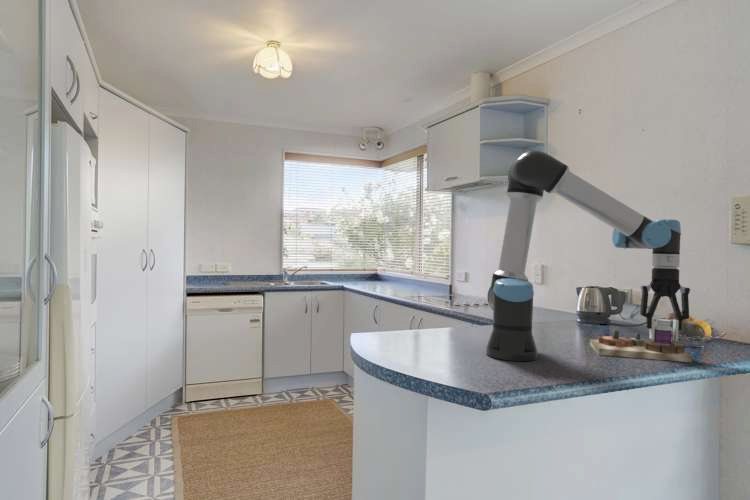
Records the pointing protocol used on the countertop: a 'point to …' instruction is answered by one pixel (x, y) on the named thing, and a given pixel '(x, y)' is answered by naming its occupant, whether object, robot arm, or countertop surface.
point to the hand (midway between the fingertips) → (663, 339)
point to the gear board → (638, 348)
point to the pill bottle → (663, 332)
